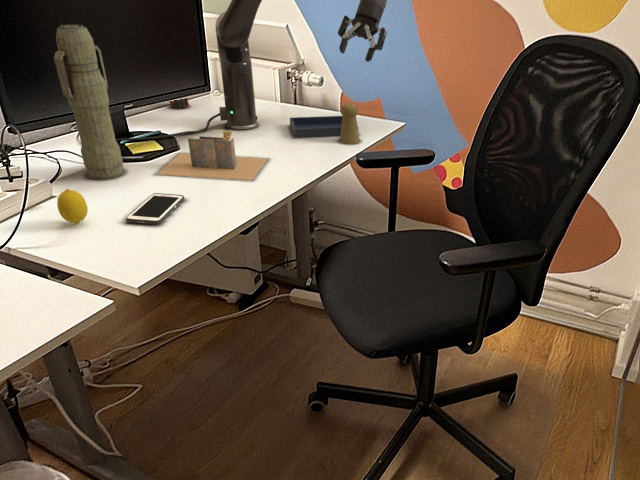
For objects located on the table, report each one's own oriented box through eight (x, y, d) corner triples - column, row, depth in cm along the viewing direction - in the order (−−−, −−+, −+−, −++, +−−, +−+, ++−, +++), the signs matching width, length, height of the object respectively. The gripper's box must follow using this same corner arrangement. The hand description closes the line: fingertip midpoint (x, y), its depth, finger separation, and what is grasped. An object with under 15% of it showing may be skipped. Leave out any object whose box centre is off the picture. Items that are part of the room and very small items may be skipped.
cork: (336, 138, 185) (336, 102, 179) (355, 137, 188) (354, 101, 182) (343, 144, 181) (343, 108, 175) (362, 142, 183) (362, 106, 177)
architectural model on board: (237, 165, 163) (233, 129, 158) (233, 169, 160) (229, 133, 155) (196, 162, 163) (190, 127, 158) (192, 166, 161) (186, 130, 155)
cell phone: (124, 222, 131) (124, 218, 130) (154, 196, 143) (153, 192, 142) (159, 225, 130) (158, 221, 130) (185, 198, 143) (185, 195, 142)
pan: (294, 138, 184) (294, 129, 183) (290, 125, 195) (289, 117, 193) (358, 135, 189) (358, 126, 188) (350, 123, 199) (350, 115, 198)
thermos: (74, 178, 151) (34, 27, 132) (107, 163, 160) (74, 21, 141) (104, 184, 148) (67, 31, 130) (135, 168, 158) (105, 24, 139)
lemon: (95, 218, 132) (86, 184, 128) (85, 229, 127) (75, 194, 123) (69, 218, 132) (60, 183, 127) (58, 229, 127) (48, 194, 123)
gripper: (347, -9, 177) (329, 45, 180) (391, 5, 175) (372, 59, 177) (355, 2, 185) (337, 54, 187) (397, 15, 182) (378, 67, 184)
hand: (354, 56), depth 182 cm, fingers open, 8 cm apart
